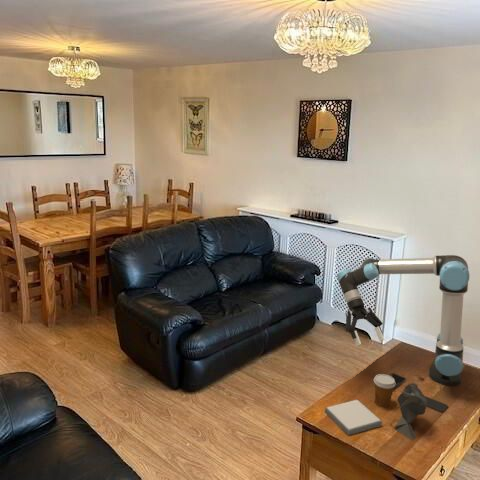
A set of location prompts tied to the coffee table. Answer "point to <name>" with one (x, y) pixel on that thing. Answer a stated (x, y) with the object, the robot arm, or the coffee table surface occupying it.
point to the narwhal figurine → (410, 409)
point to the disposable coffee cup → (383, 389)
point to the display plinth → (353, 417)
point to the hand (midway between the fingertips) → (370, 342)
